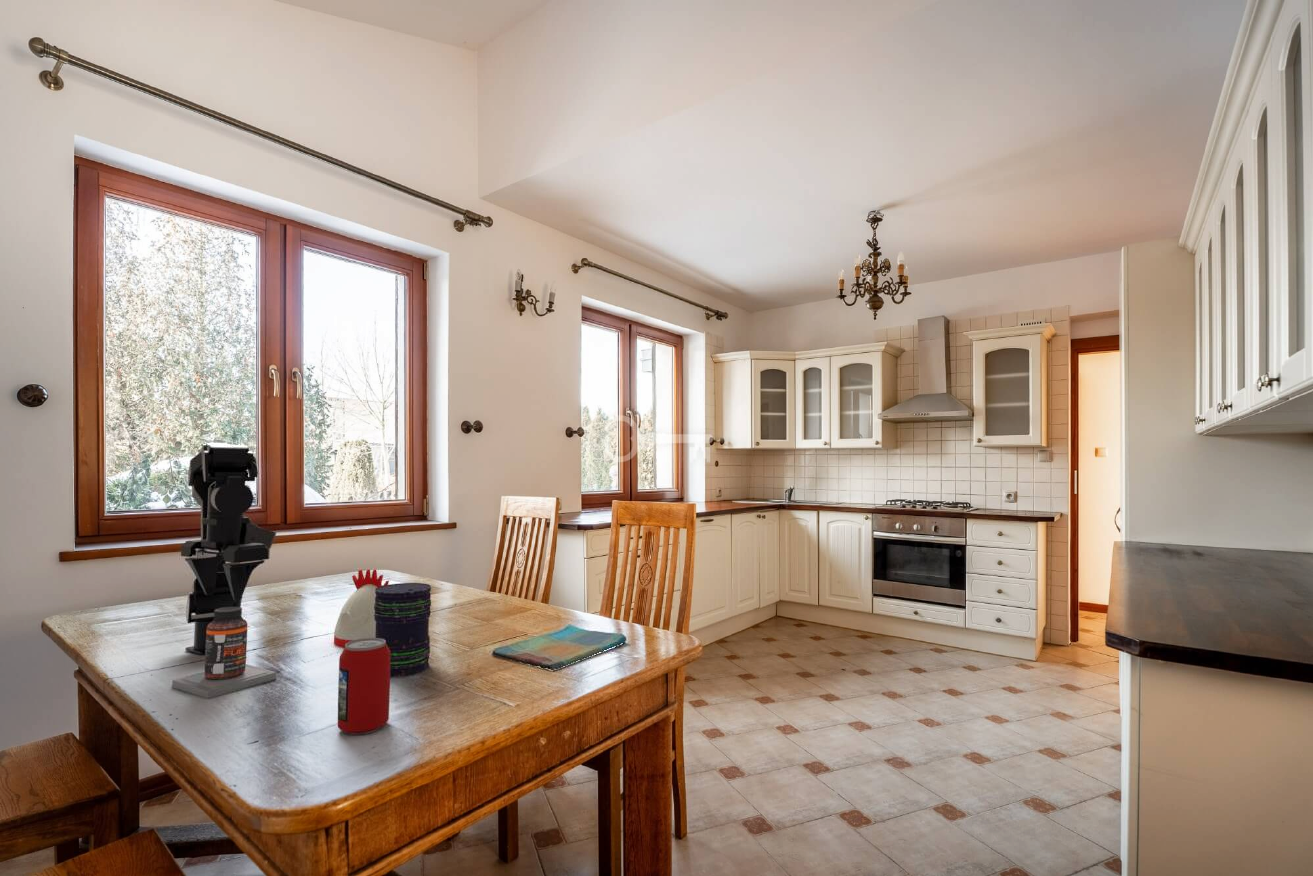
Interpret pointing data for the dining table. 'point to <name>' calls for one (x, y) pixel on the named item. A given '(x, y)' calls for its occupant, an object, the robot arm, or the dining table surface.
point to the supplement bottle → (226, 644)
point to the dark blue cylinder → (404, 626)
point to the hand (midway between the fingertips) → (223, 597)
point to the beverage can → (364, 686)
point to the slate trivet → (223, 682)
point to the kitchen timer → (359, 610)
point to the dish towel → (559, 647)
